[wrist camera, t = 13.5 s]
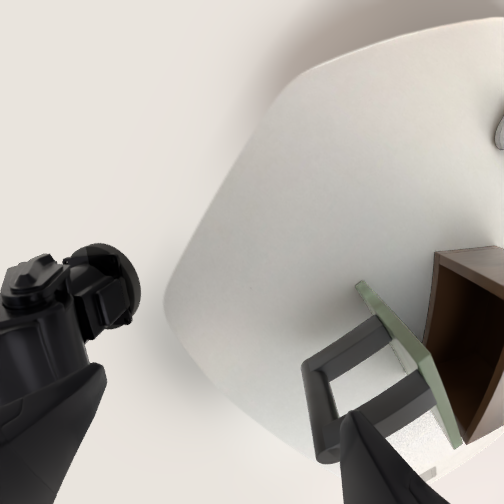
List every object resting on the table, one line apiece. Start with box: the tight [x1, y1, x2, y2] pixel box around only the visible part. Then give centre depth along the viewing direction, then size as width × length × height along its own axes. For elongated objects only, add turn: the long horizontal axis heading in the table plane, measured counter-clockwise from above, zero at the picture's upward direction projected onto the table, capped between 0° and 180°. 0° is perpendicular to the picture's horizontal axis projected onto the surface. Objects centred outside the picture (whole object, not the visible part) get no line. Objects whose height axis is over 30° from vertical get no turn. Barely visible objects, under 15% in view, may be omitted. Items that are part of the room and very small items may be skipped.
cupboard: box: [422, 246, 504, 445], centre depth 15 cm, size 8×12×11 cm
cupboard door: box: [301, 281, 463, 464], centre depth 16 cm, size 7×12×11 cm, turn 37°
